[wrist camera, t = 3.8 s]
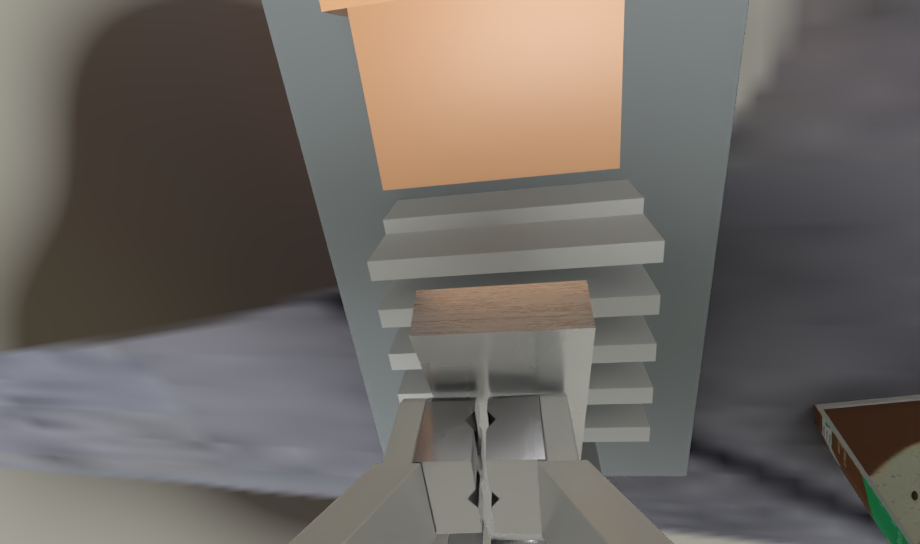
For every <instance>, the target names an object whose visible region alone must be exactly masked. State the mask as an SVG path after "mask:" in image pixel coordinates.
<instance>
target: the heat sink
mask: <svg viewBox="0 0 920 544" xmlns="http://www.w3.org/2000/svg"><path fill="white" fill-rule="evenodd" d="M262 4H263V8H264V11H265V15H266V19H267V22H268V26H269V30H270V33H271V38H272V41H273V45H274V49H275V52H276V56H277V60H278V64H279V67H280V71H281V75H282V78H283V82H284V86H285V90H286V93H287V97H288V101H289V104H290V108H291V112H292V116H293V120H294V123H295V127H296V131H297V135H298V138H299V142H300V146H301V149H302V153H303V157H304V161H305V164H306V168H307V172H308V176H309V179H310V183H311V187H312V190H313V194H314V198H315V202H316V205H317V209H318V213H319V216H320V220H321V224H322V228H323V232H324V235H325V239H326V243H327V246H328V250H329V254H330V258H331V261H332V265H333V269H334V273H335V276H336V280H337V284H338V288H339V291H340V295H341V299H342V302H343V306H344V310H345V314H346V317H347V321H348V325H349V329H350V332H351V336H352V340H353V343H354V347H355V351H356V355H357V358H358V362H359V366H360V370H361V373H362V377H363V381H364V384H365V388H366V392H367V396H368V399H369V403H370V407H371V411H372V414H373V418H374V422H375V426H376V429H377V433H378V437H379V440H380V444H381V448H382V452H383V455H384V456H385V452H386V449H387V445H388V442H389V439H390V435H391V432H392V428H393V425H394V421H395V418H396V415H397V411H398V408H399V404H400V403H401V402H402V400H403V399H410V398H427V399H428V398H434V397H433V394H432V392H431V389H430V387H429V384H428V382H427V379H426V377H425V374H424V372H423V369H422V367H421V364H420V362H419V359H418V357H417V354H416V352H415V349H414V347H413V345H412V342H411V340H410V337H409V334H410V328H411V321H412V315H413V309H414V302H415V296H416V290H433V289H449V288H466V287H482V286H499V285H516V284H532V283H549V282H565V281H582V280H587V284H588V290H589V295H590V301H591V306H592V311H593V317H594V322H595V327H596V329H595V338H594V347H593V355H592V364H591V373H590V382H589V391H588V400H587V409H586V418H585V426H584V435H583V444H582V453H581V460H588V461H589V462H590V463H591V464H592V465H593V466H594V467H595V468H597V469H598V470H599V471H600V472H601V473H602V474H603V475H604V476H686V475H687V468H688V460H689V453H690V445H691V438H692V430H693V422H694V415H695V407H696V400H697V392H698V384H699V377H700V369H701V362H702V354H703V346H704V339H705V331H706V324H707V316H708V308H709V301H710V293H711V286H712V278H713V270H714V263H715V255H716V248H717V240H718V232H719V225H720V217H721V210H722V202H723V194H724V187H725V179H726V172H727V164H728V156H729V149H730V141H731V134H732V126H733V119H734V111H735V103H736V96H737V87H738V80H739V73H740V65H741V58H742V50H743V43H744V35H745V27H746V20H747V11H748V4H749V0H625V7H624V41H623V74H622V108H621V142H620V168H617V169H607V170H596V171H585V172H575V173H564V174H554V175H543V176H532V177H522V178H511V179H501V180H490V181H479V182H469V183H458V184H448V185H437V186H426V187H416V188H405V189H395V190H384V191H383V187H382V182H381V177H380V172H379V167H378V162H377V157H376V152H375V147H374V142H373V137H372V132H371V127H370V122H369V117H368V112H367V107H366V102H365V97H364V92H363V87H362V82H361V77H360V72H359V67H358V62H357V57H356V52H355V47H354V42H353V37H352V32H351V27H350V21H349V17H344V16H339V15H334V14H329V13H324V12H321V7H320V3H319V0H262ZM483 526H484V521H483V519H482V533H456V534H449V538H448V544H482V542H483Z"/></svg>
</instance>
